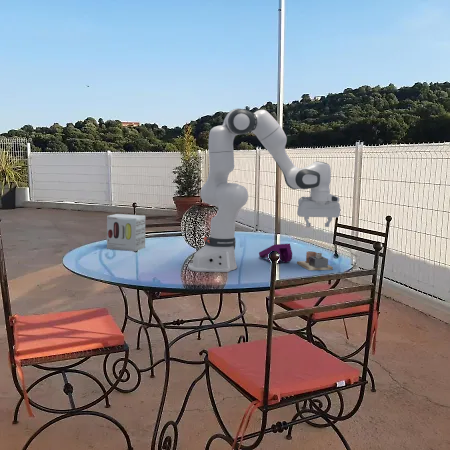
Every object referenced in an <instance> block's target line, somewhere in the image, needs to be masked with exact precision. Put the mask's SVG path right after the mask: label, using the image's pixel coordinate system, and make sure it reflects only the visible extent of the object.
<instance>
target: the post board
mask: <svg viewBox="0 0 450 450" xmlns="http://www.w3.org/2000/svg"><path fill="white" fill-rule="evenodd" d="M322 254H323V253H321V252H316V251H311V250H310V251H306V255H305V256H306V257H305V260H302V261H301V260H299V261H297V262H296V265H298V266H300V267H301V268H304V269H306V270H308V271H331V270H332V271H333V268H334V267H333V266H331V265H329V264H328V267H326V268H314V267H312V266H310V265H309V256H316V259H322Z"/></svg>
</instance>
